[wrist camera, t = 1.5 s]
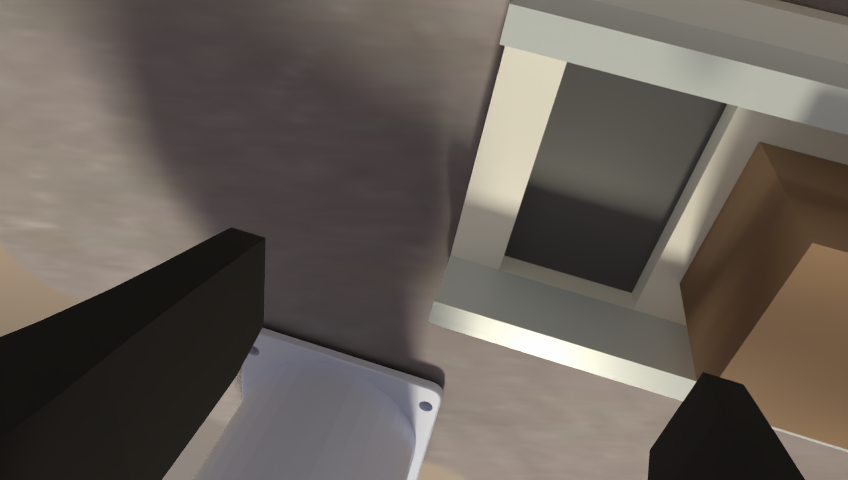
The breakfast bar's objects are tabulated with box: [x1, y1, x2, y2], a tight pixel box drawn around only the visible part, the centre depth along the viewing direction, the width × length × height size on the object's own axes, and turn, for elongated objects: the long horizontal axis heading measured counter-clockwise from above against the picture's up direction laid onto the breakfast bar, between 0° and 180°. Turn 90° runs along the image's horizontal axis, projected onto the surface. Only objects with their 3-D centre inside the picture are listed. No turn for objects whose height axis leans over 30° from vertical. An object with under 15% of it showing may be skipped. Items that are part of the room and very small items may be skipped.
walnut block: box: [680, 142, 848, 450], centre depth 13 cm, size 4×4×4 cm
